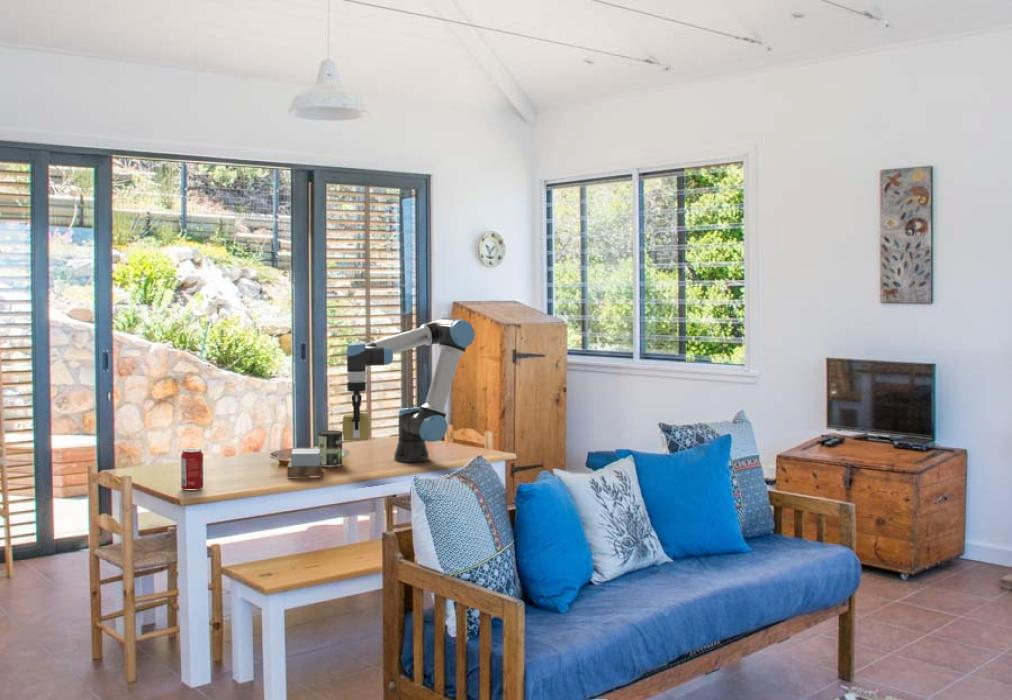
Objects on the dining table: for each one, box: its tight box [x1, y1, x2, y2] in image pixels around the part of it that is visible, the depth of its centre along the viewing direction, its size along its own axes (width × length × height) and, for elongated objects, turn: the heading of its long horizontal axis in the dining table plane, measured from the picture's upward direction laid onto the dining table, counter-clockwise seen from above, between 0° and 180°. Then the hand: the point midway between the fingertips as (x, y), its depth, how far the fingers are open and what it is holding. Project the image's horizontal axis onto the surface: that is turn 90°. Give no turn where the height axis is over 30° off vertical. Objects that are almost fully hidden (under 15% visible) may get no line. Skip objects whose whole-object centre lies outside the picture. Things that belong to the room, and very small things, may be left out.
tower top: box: [290, 448, 320, 466], centre depth 410 cm, size 11×11×5 cm
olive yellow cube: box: [342, 412, 371, 442], centre depth 415 cm, size 10×11×10 cm
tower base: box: [286, 460, 323, 477], centre depth 410 cm, size 13×13×5 cm
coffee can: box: [317, 429, 343, 468], centre depth 431 cm, size 10×10×14 cm
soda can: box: [180, 448, 204, 490], centre depth 379 cm, size 8×8×15 cm
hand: (356, 435), depth 415 cm, fingers closed on olive yellow cube, 10 cm apart
